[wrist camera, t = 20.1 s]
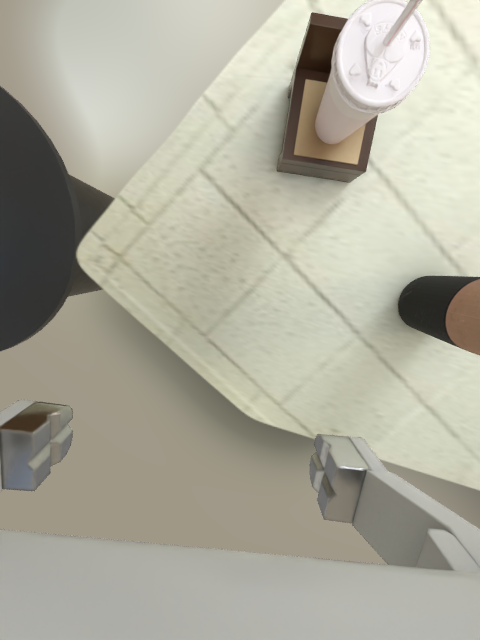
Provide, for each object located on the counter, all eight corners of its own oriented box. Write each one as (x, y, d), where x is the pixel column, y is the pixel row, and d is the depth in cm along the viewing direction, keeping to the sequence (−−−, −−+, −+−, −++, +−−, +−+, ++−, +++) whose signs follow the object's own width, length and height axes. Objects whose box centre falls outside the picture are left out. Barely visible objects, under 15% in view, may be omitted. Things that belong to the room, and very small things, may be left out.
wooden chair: (276, 171, 32) (292, 137, 23) (289, 84, 30) (311, 12, 22) (350, 182, 33) (392, 153, 24) (367, 97, 31) (420, 31, 22)
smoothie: (373, 99, 27) (513, -66, 13) (351, 166, 28) (458, 78, 15) (313, 78, 27) (394, -114, 13) (293, 148, 28) (348, 40, 14)
